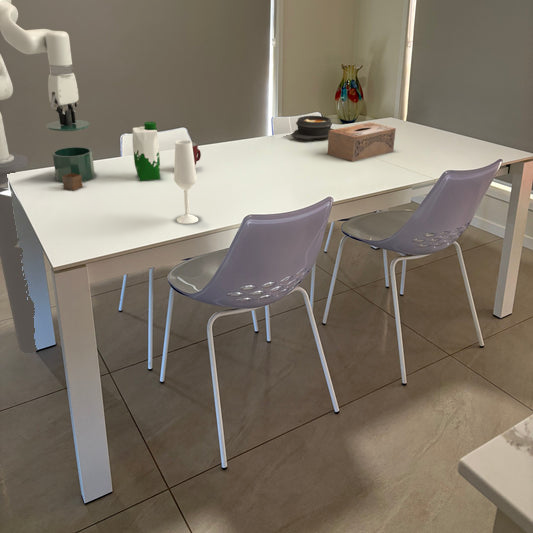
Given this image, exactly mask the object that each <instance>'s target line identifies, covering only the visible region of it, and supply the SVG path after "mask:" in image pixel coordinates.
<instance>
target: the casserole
mask: <svg viewBox="0 0 533 533" xmlns="http://www.w3.org/2000/svg"><path fill="white" fill-rule="evenodd" d="M295 124H296V126H297V129H295V130H294V131H293V132H292V133H291V134H290V136H291V137H293V138H297V139H303V140H322V139H327V138H328V136H329V130H334V129H335V128H331V127H332V126H333V122H332V120H331V118H329V117H326V116H322V115H304V116H300V117H298V119H297V121H296V122H295Z"/></svg>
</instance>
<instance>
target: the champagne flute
mask: <svg viewBox="0 0 533 533" xmlns="http://www.w3.org/2000/svg"><path fill="white" fill-rule="evenodd" d="M192 142H193V141H191V140H188V139H182V140H176V141H175V143H174V168H173V169H174V170H173V180H174V183H175V184H176V185H177V186H178V188H179V187H180V189H181V190H183V194H184V195H183V196H184V214H182V215H181V216H179V217H178V218H176V222H177V223H179V224H183V225H189V224H194V223H197V222H199V218H198V217H197V216H195V215H193V214H191V213H190V203H189V201H190V200H189V190H190V189H192V188H193V186H194V185H196V182H197V180H198V179H197V178H198V177H197V170H196V165H195V162H194V155H193V147H192Z"/></svg>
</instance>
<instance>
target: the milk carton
mask: <svg viewBox="0 0 533 533" xmlns="http://www.w3.org/2000/svg"><path fill="white" fill-rule="evenodd" d="M143 123H144V124H143V125H144V126H138V127H132V149H133V162H134V167H135V170H136V174H137V177H138V179H139V181H140V182H145V181H156V180H160V178H161V177H160V173H161V161H160V160H161V158H160V147H159V146H160V145H159V136H158V135H159V134H158V129H157V122H155V121H146V122H145V121H144V122H143Z"/></svg>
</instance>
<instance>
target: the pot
mask: <svg viewBox="0 0 533 533" xmlns="http://www.w3.org/2000/svg"><path fill="white" fill-rule="evenodd" d="M52 159H53V165H54V171H55V173H54V174H55V179H56V180H57V181H58V182H61V183H63V179H62V176H64V175H67V174H70V173H74V174H80V175H81V178H82V183H84V182H87V181H90V180H92V179H94V178H95V176H96V173H95V166H94V157H93V150H92V149H91V148H89V147H85V146H69V147H63V148H58V149H55V150H54V151H52Z"/></svg>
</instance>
